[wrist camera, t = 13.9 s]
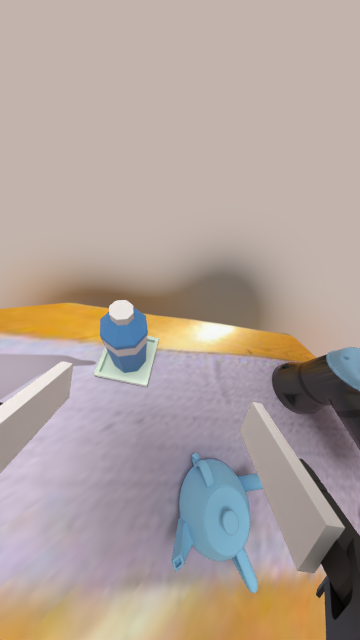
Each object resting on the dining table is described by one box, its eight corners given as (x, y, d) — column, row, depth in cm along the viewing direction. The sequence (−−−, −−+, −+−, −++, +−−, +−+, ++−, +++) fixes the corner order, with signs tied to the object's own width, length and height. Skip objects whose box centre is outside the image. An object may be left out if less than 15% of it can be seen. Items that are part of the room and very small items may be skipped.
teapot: (246, 563, 35) (285, 615, 25) (164, 539, 34) (172, 583, 25) (248, 466, 43) (279, 479, 34) (182, 446, 43) (194, 453, 33)
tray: (158, 341, 55) (158, 338, 53) (146, 387, 48) (146, 385, 46) (114, 331, 54) (113, 327, 52) (95, 376, 47) (93, 374, 45)
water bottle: (107, 351, 50) (82, 299, 29) (137, 337, 54) (134, 281, 33) (121, 380, 47) (104, 345, 26) (152, 362, 51) (159, 319, 29)
